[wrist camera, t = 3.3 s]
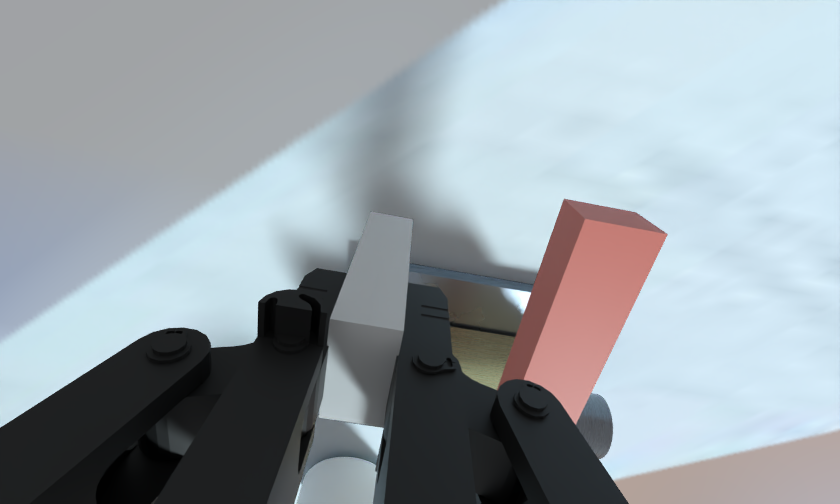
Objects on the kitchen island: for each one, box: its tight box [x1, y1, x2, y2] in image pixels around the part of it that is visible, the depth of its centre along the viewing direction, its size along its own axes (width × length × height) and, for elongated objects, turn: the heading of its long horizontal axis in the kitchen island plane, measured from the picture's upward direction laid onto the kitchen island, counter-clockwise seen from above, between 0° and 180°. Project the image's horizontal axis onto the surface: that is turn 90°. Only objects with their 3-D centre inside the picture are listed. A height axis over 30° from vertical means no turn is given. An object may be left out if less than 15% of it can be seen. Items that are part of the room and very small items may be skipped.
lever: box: [497, 199, 668, 425], centre depth 17 cm, size 17×3×4 cm, turn 169°
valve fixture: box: [334, 263, 613, 459], centre depth 26 cm, size 18×14×10 cm
